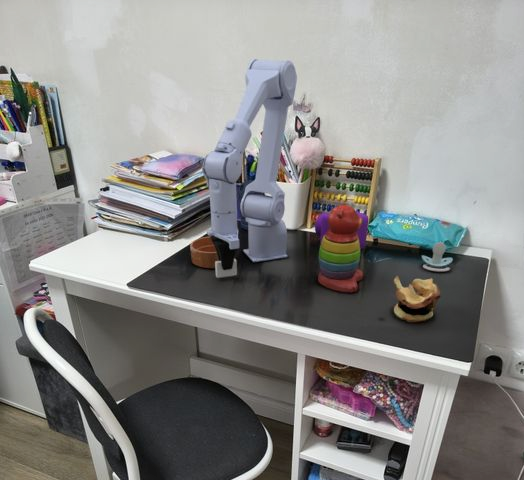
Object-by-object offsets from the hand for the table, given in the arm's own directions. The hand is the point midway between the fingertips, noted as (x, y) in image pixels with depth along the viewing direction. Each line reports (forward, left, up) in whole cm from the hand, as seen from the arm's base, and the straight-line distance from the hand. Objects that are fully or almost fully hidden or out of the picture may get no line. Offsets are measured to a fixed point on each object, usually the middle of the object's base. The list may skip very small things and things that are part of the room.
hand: (226, 267), depth 116 cm
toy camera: (-34, -8, -3) cm, 35 cm away
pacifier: (-50, +13, -3) cm, 52 cm away
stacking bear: (-24, +11, -3) cm, 27 cm away
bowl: (0, -11, -3) cm, 11 cm away
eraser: (0, 0, -2) cm, 2 cm away
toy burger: (-31, +30, -3) cm, 43 cm away
